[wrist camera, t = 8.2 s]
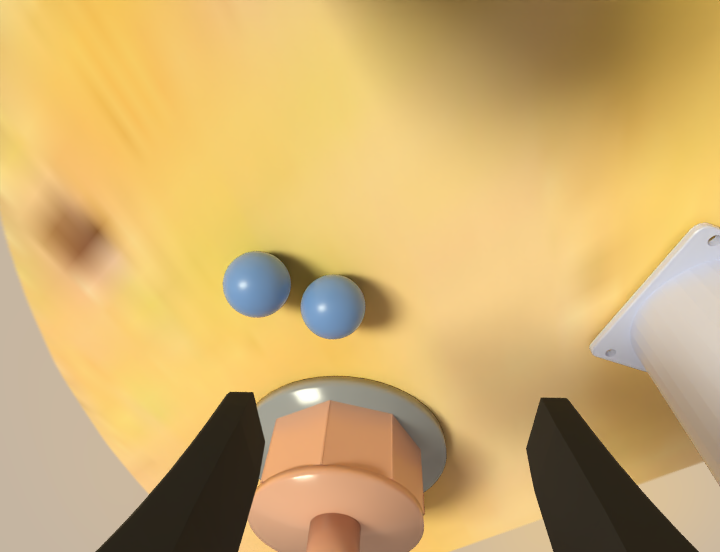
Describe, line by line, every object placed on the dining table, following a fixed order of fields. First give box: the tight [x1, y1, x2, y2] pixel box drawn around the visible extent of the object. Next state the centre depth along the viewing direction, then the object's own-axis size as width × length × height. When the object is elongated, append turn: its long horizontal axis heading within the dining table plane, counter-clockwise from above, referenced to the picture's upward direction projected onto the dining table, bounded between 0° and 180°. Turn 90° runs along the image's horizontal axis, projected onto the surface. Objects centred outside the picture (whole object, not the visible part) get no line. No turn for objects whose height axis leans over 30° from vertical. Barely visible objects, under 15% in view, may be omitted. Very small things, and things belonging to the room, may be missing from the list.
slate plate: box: [256, 376, 446, 493], centre depth 29 cm, size 13×13×1 cm
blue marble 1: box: [223, 251, 291, 318], centre depth 21 cm, size 3×3×3 cm
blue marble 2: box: [301, 275, 365, 339], centre depth 21 cm, size 3×3×3 cm
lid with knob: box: [248, 400, 425, 552], centre depth 25 cm, size 10×10×8 cm
